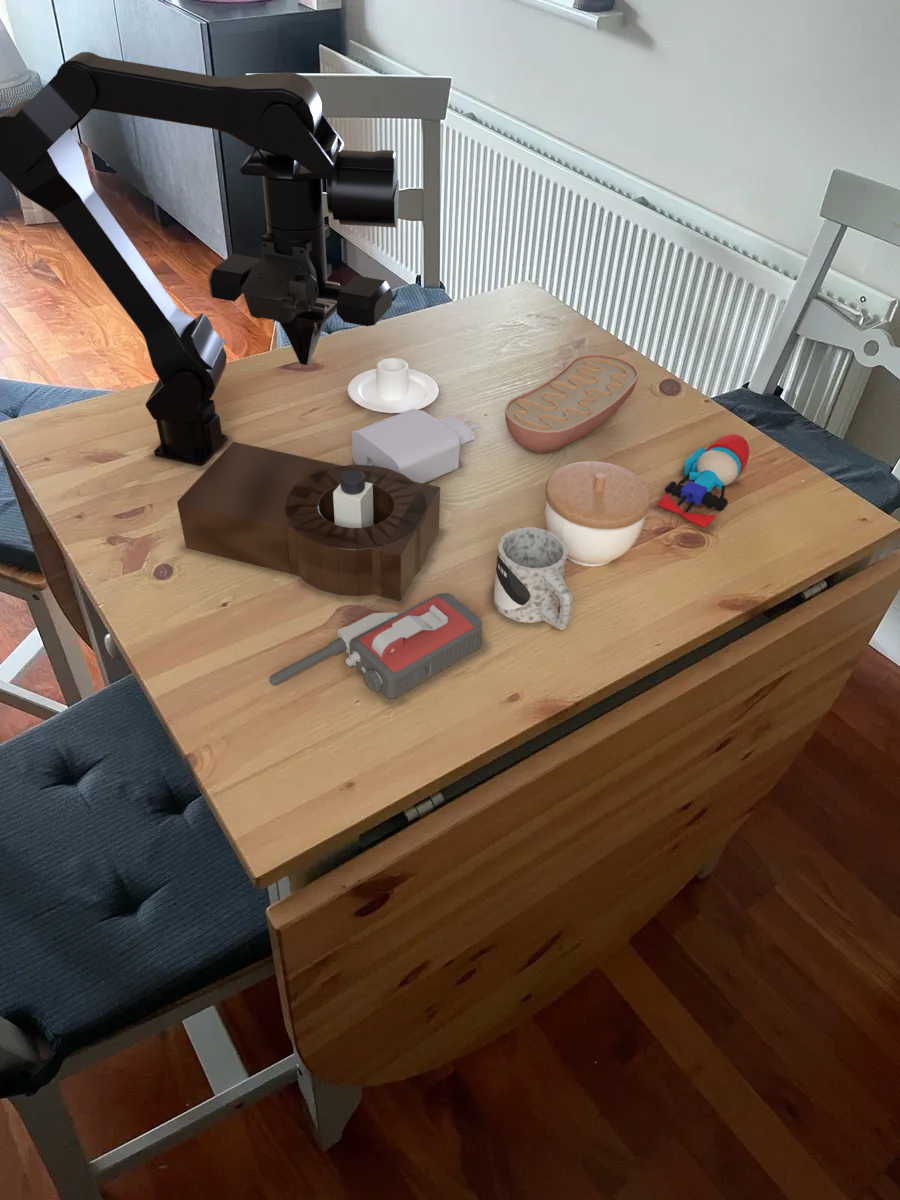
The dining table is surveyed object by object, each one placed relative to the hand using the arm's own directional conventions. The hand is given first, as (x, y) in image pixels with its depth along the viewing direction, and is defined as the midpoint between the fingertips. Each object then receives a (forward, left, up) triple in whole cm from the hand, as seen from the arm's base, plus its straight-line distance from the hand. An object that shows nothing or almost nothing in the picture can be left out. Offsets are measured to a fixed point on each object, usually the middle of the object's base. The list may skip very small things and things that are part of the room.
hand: (305, 363), depth 102 cm
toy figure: (+46, +10, -12) cm, 49 cm away
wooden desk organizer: (+7, -15, -12) cm, 20 cm away
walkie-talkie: (+21, -29, -12) cm, 38 cm away
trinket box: (+35, -6, -12) cm, 38 cm away
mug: (+32, -17, -12) cm, 38 cm away
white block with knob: (+10, -15, -7) cm, 20 cm away
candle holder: (+4, +17, -12) cm, 21 cm away
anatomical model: (+28, +18, -12) cm, 36 cm away
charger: (+13, +4, -12) cm, 18 cm away
